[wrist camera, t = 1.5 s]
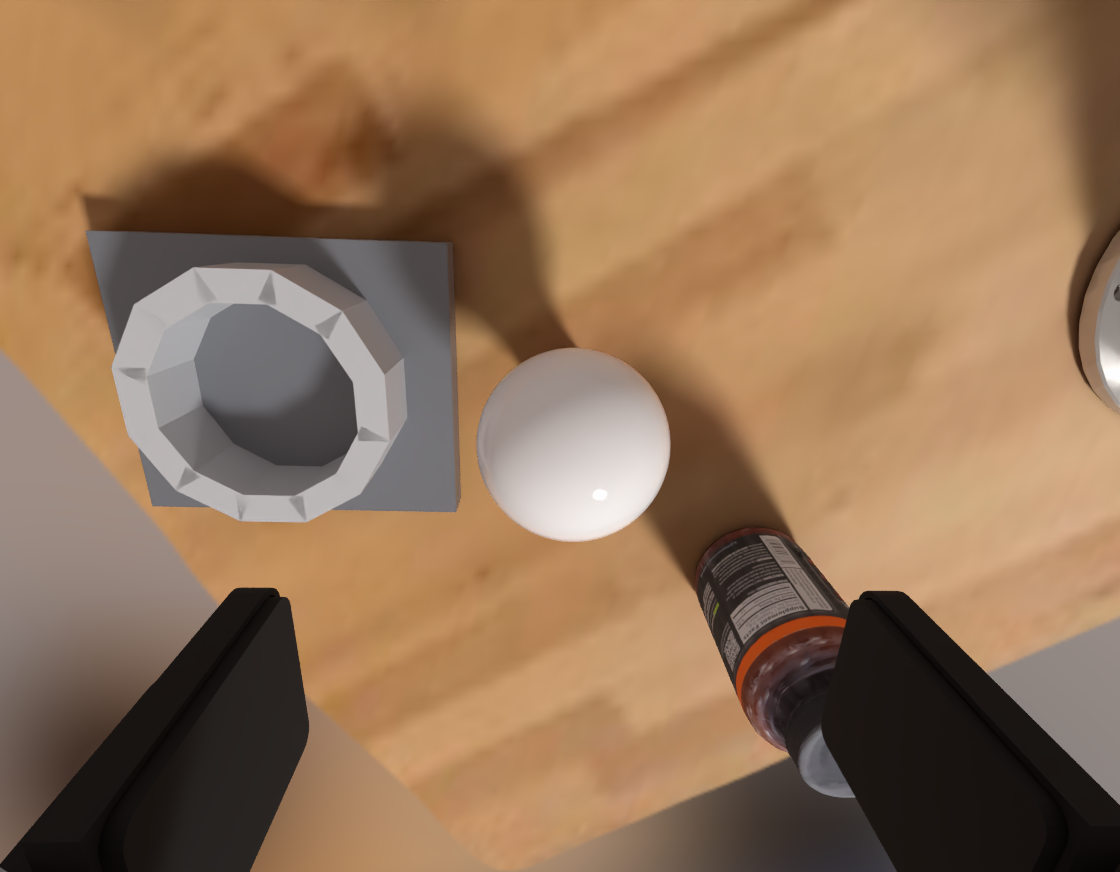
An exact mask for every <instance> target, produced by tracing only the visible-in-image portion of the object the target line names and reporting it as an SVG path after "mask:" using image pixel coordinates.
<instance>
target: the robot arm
mask: <svg viewBox="0 0 1120 872" xmlns="http://www.w3.org/2000/svg"><path fill="white" fill-rule="evenodd" d="M1079 352H1080V356H1081V361H1082V366H1083V371H1084V373H1085V375H1086V377H1087V379H1088V381H1089V383H1090V385H1091V387H1092V389H1093V391H1094V392H1095V393H1096V394H1097V395H1098V397H1099V398H1100V399H1101V400H1102V401H1103V402H1104V403H1105V405H1106V406H1108V407H1109V408H1111V409H1112V410H1114V411H1115V412H1117V413H1118V414H1120V230H1119V231H1118V233H1117V234H1116V235H1115V236H1114V238H1113V239H1112V241H1111V242H1110V244H1109V246H1108V248H1107V249H1106V251H1105V253H1104V254H1103V256H1102V258H1101V260H1100V261H1099V263H1098V265H1097V267H1096V269H1095V271H1094V274H1093V276H1092V279H1091V281H1090V284H1089V286H1088V289H1087V292H1086V294H1085V298H1084V302H1083V307H1082V312H1081V317H1080V321H1079ZM821 730H822V735H823V738H824V741H825V743H826V746H827V747H828V749H829V751H830V753H831V754H832V756H833V758H834V760H835V762H836V763H837V765H838V767H839V769H840V771H841V772H842V774H843V776H844V778H845V779H846V781H847V783H848V785H849V787H850V788H851V790H852V792H853V794H854V795H855V797H856V799H857V801H858V803H859V804H860V806H861V808H862V810H863V811H864V813H865V815H866V817H867V819H868V820H869V822H870V824H871V826H872V827H873V829H874V831H875V833H876V835H877V837H878V838H879V840H880V842H881V843H882V845H883V847H884V849H885V851H886V852H887V854H888V856H889V858H890V860H891V862H892V863H893V865H894V867H895V869H896V870H897V872H1120V805H1119V804H1118V803H1117V802H1116V801H1115V800H1114V799H1113V798H1112V797H1111V796H1110V795H1109V794H1108V793H1107V792H1106V791H1105V790H1104V789H1103V788H1102V787H1101V786H1100V785H1099V784H1098V783H1097V782H1096V781H1095V780H1094V779H1093V778H1092V777H1091V776H1090V775H1089V774H1088V773H1087V772H1086V771H1085V770H1084V769H1083V768H1082V767H1081V766H1080V765H1079V764H1078V763H1076V761H1075V760H1074V759H1073V758H1071V757H1070V755H1068V753H1067V752H1065V751H1064V750H1063V749H1062V748H1061V747H1060V746H1059V745H1058V744H1057V743H1056V742H1055V741H1054V740H1053V739H1052V738H1051V737H1050V736H1049V735H1048V734H1047V733H1046V732H1045V731H1044V730H1043V729H1042V728H1041V727H1040V726H1039V725H1038V724H1037V723H1036V722H1035V721H1034V720H1033V719H1032V718H1031V717H1030V716H1029V715H1028V714H1027V713H1026V712H1025V711H1024V710H1023V709H1022V708H1021V707H1020V706H1019V705H1018V704H1017V703H1016V702H1015V701H1014V700H1013V699H1012V698H1011V697H1010V696H1009V695H1008V694H1007V693H1006V692H1004V690H1003V689H1001V687H1000V686H999V685H998V684H997V683H996V682H995V681H994V680H993V679H992V678H991V677H990V676H989V675H988V674H987V673H986V672H985V671H984V670H983V669H982V668H981V667H980V666H979V665H978V664H977V663H976V662H974V661H973V660H972V659H971V658H970V657H969V656H968V655H967V654H966V653H965V652H964V651H963V650H962V649H961V648H960V647H959V646H958V645H957V644H956V643H955V642H954V641H953V640H952V639H951V638H950V637H949V636H948V635H947V634H946V633H945V632H944V631H943V630H942V629H941V628H940V627H939V626H938V625H937V624H936V623H935V622H934V621H933V620H932V619H931V618H930V617H929V616H928V615H927V614H926V613H925V612H924V611H923V610H922V609H921V608H920V607H919V606H918V605H917V604H916V603H915V602H914V601H913V600H912V599H911V598H910V597H909V596H908V595H906V594H905V593H903V592H900V591H866V592H863V593H862V594H861V595H860V597H859V600H854V601H853V602H852V603H851V605H850V608H849V612H848V616H847V620H846V624H845V628H844V632H843V636H842V640H841V643H840V647H839V651H838V655H837V659H836V663H835V667H834V671H833V675H832V679H831V683H830V687H829V691H828V695H827V699H826V703H825V707H824V711H823V715H822V719H821ZM308 733H309V720H308V713H307V707H306V701H305V694H304V688H303V682H302V675H301V669H300V662H299V656H298V650H297V643H296V637H295V631H294V624H293V618H292V612H291V605H290V601H289V600H288V598H286V597H280V595H279V592H278V591H277V589H275V588H236V589H234V590H233V591H232V592H231V593H230V594H229V595H228V596H227V598H226V599H225V600H224V601H223V602H222V604H221V605H220V606H219V607H218V608H217V609H216V611H215V612H214V613H213V614H212V615H211V617H210V618H209V619H208V620H207V621H206V623H205V624H204V625H203V626H202V628H200V630H199V631H198V632H197V633H196V634H195V636H194V637H193V638H192V639H191V641H190V642H189V643H188V644H187V645H186V646H185V648H184V649H183V650H182V651H181V652H180V653H179V655H178V656H177V657H176V658H175V659H174V661H173V662H172V663H171V664H170V665H169V667H168V668H167V669H166V670H165V671H164V673H163V674H162V675H161V676H160V677H159V678H158V680H157V681H156V682H155V683H154V684H153V685H151V686H150V688H149V689H148V690H147V691H146V692H145V693H144V694H143V696H142V697H141V698H140V699H139V700H138V702H137V703H136V704H135V705H134V706H133V708H132V709H131V710H130V711H129V712H128V713H127V715H126V716H125V717H124V718H123V719H122V720H121V722H120V723H119V724H118V725H117V726H116V728H115V729H114V730H113V731H112V733H111V734H110V735H109V736H108V737H107V738H106V739H105V741H104V742H103V743H102V744H101V745H100V747H99V748H98V749H97V750H96V751H95V752H94V754H93V755H92V756H91V757H90V758H89V760H88V761H87V762H86V763H85V764H84V765H83V767H82V768H81V769H80V770H79V771H78V773H77V774H76V775H75V776H74V777H73V779H72V780H71V781H70V782H69V783H68V784H67V786H66V787H65V788H64V789H63V790H62V792H61V793H60V794H59V795H58V796H57V797H56V799H55V800H54V801H53V802H52V803H51V805H50V806H49V807H48V808H47V809H46V811H45V812H44V813H43V814H42V815H41V817H40V818H39V819H38V820H37V821H36V822H35V824H34V825H33V826H32V827H31V828H30V829H29V831H28V832H27V833H26V834H25V835H24V837H23V838H22V839H21V840H20V841H19V843H18V844H17V845H16V846H15V847H14V849H13V850H12V851H11V852H10V853H9V854H8V855H7V857H6V858H5V859H4V860H3V861H2V863H1V864H0V872H250V869H251V868H252V865H253V863H254V861H255V859H256V856H257V854H258V852H259V849H260V847H261V845H262V843H263V841H264V838H265V836H266V834H267V832H268V829H269V827H270V825H271V823H272V821H273V818H274V816H275V814H276V812H277V809H278V807H279V805H280V803H281V800H282V798H283V796H284V793H285V791H286V789H287V787H288V784H289V782H290V780H291V778H292V776H293V774H294V771H295V769H296V766H297V764H298V762H299V760H300V758H301V756H302V753H303V751H304V748H305V746H306V743H307V739H308Z"/></svg>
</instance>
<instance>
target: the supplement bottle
mask: <svg viewBox="0 0 1120 872" xmlns="http://www.w3.org/2000/svg"><path fill="white" fill-rule="evenodd" d="M695 588H696V593H697V597H698V600H699V603H700V606H701V608H702V610H703V613H704V616H705V618H706V621H707V623H708V626H709V628H710V630H711V633H712V636H713V638H714V640H715V642H716V645H717V647H718V650H719V652H720V655H721V657H722V659H723V662H724V665H725V667H726V669H727V672H728V674H729V677H730V679H731V682H732V684H733V686H734V689H735V691H736V694H737V696H738V698H739V701H740V703H741V706H742V708H743V711H744V712H745V714H746V716H747V718H748V720H749V721H750V723H751V725H752V726H753V728H754V729H755V731H756V732H757V733H758V734H759V735H760V736H761V737H762V738H764V739H765V740H766V741H767V742H769V743H770V744H771V745H773V746H774V747H776V748H778V749H780V750H782V751H785V752H788V753H789V755H790V756H791V757H792V759H793V761H794V763H795V764H796V766H797V768H798V770H799V773H800V775H801V777H802V778H803V779H804V781H805V782H806V783H807V784H808V785H809V786H810V787H812V788H813V789H815V790H817V791H819V792H820V793H823V794H827V795H830V796H835V797H845V798H847V797H855V795H854V794H853V792H852V790H851V788H850V787H849V785H848V783H847V781H846V779H845V778H844V776H843V774H842V772H841V771H840V769H839V767H838V765H837V763H836V762H835V760H834V758H833V756H832V754H831V753H830V751H829V749H828V747H827V746H826V743H825V741H824V738H823V735H822V730H821V719H822V715H823V711H824V707H825V703H826V699H827V695H828V691H829V687H830V683H831V679H832V675H833V671H834V667H835V663H836V659H837V655H838V651H839V647H840V643H841V640H842V636H843V632H844V628H845V624H846V620H847V616H848V612H849V607H848V606H847V604H846V603H845V602H844V600H843V599H842V598H841V597H840V596H839V594H838V593H837V592H836V591H835V589H834V588H833V587H832V586H831V584H830V583H829V582H828V581H827V579H826V578H825V577H824V575H823V574H822V573H821V572H820V571H819V569H818V568H817V567H816V566H815V565H814V563H813V562H812V561H811V559H810V558H809V557H808V556H807V554H806V553H805V552H804V551H803V550H802V549H801V548H800V547H799V546H798V545H797V544H796V543H795V542H794V541H793V540H792V539H791V538H789V537H788V536H786V535H785V534H784V533H782V532H779V531H776V530H773V529H768V528H759V527H754V528H744V529H739V530H736V531H734V532H731V533H729V534H727V535H725V536H723V537H722V538H720V539H719V540H717V541H715V542H714V543H713V544H712V545H711V546H710V547H709V548H708V549H707V550H706V552H705V553H704V555H703V556H702V558H701V560H700V561H699V564H698V566H697V570H696V574H695Z"/></svg>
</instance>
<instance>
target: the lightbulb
mask: <svg viewBox="0 0 1120 872" xmlns="http://www.w3.org/2000/svg"><path fill="white" fill-rule="evenodd" d="M670 450H671V439H670V430H669V424H668V420H667V416H666V413H665V410H664V408H663V405H662V403H661V401H660V399H659V397H658V396H657V394H656V392H655V391H654V389H653V388H652V387H651V385H650V384H649V383H648V382H647V381H646V379H645V378H644V377H643V376H642V375H641V374H640V373H639V372H637V371H636V370H635V369H634V368H632V367H631V366H630V365H628V364H627V363H625V362H624V361H622V360H620V359H618V358H616V357H614V356H612V355H610V354H607V353H604V352H601V351H597V350H593V349H587V348H560V349H554V350H550V351H546V352H543V353H540V354H538V355H535V356H533V357H531V358H529V359H527V360H525V361H524V362H522V363H520V364H519V365H517V366H516V367H515V368H513V369H512V370H511V371H510V372H509V373H508V374H506V375H505V376H504V377H503V379H502V380H501V381H500V382H499V383H498V384H497V386H496V387H495V388H494V390H493V391H492V393H491V394H490V396H489V398H488V400H487V402H486V404H485V406H484V408H483V411H482V414H481V417H480V421H479V425H478V431H477V458H478V464H479V468H480V472H481V475H482V478H483V481H484V483H485V486H486V488H487V490H488V492H489V493H490V495H491V497H492V498H493V500H494V501H495V503H496V504H497V505H498V506H499V508H500V509H501V510H502V511H503V512H504V513H505V514H506V515H507V516H508V517H509V518H510V519H512V520H513V521H514V522H515V523H517V524H518V525H520V526H521V527H523V528H524V529H526V530H528V531H530V532H532V533H534V534H537V535H539V536H542V537H545V538H548V539H552V540H557V541H565V542H582V541H590V540H595V539H599V538H603V537H606V536H608V535H611V534H613V533H615V532H617V531H619V530H621V529H623V528H625V527H626V526H628V525H629V524H631V523H632V522H633V521H634V520H636V519H637V518H638V517H639V516H640V515H641V514H642V513H643V512H644V511H645V510H646V509H647V508H648V507H649V505H650V504H651V503H652V501H653V500H654V499H655V497H656V495H657V494H658V492H659V490H660V488H661V486H662V484H663V481H664V479H665V476H666V473H667V469H668V465H669V460H670Z"/></svg>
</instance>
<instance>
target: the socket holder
mask: <svg viewBox="0 0 1120 872" xmlns="http://www.w3.org/2000/svg"><path fill="white" fill-rule="evenodd" d="M86 235H87V239H88V243H89V247H90V251H91V255H92V259H93V263H94V268H95V272H96V276H97V280H98V284H99V288H100V292H101V296H102V300H103V305H104V309H105V313H106V317H107V321H108V325H109V329H110V333H111V337H112V342H113V346H114V350H115V354H116V356H115V358H114V361H113V364H112V367H111V368H112V372H113V376H114V380H115V384H116V388H117V392H118V396H119V400H120V405H121V409H122V413H123V417H124V421H125V425H126V429H127V433H128V436H129V437H130V438H131V439H132V440H133V442H134V443H135V444H136V445H137V446H138V448H139V453H140V457H141V461H142V465H143V469H144V473H145V477H146V481H147V485H148V490H149V494H150V498H151V502H152V506H170V507H212V508H214V509H216V510H218V511H220V512H222V513H224V514H226V515H228V516H230V517H233V518H235V519H237V520H239V521H261V522H308V521H310V520H312V519H314V518H316V517H318V516H319V515H321V514H323V513H325V512H327V511H329V510H372V511H423V512H456V511H457V508H458V505H459V502H460V499H461V488H460V456H459V423H458V391H457V358H456V326H455V293H454V261H453V242H432V241H404V240H375V239H346V238H317V237H288V236H259V235H231V234H202V233H173V232H144V231H115V230H104V231H86Z"/></svg>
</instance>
